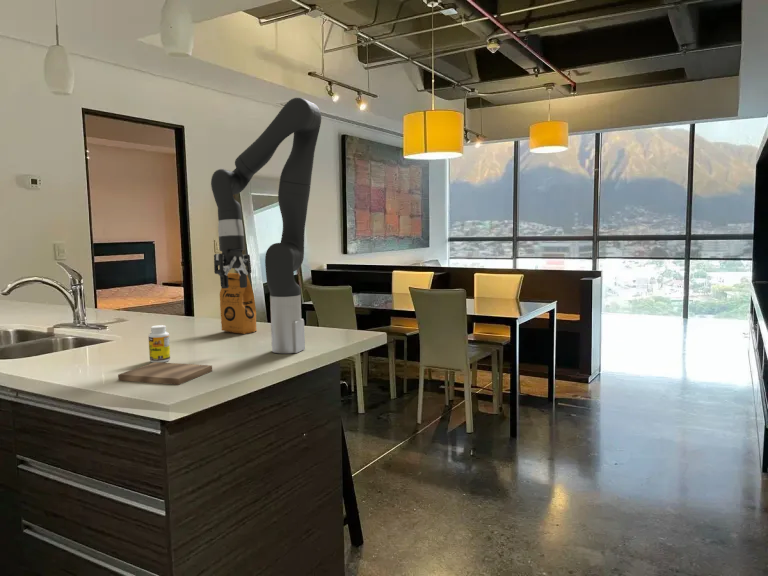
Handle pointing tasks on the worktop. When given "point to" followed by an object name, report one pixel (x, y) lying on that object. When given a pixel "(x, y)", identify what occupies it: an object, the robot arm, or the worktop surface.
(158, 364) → the walnut board
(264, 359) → the worktop surface
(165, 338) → the supplement bottle
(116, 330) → the worktop surface
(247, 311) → the coffee package
